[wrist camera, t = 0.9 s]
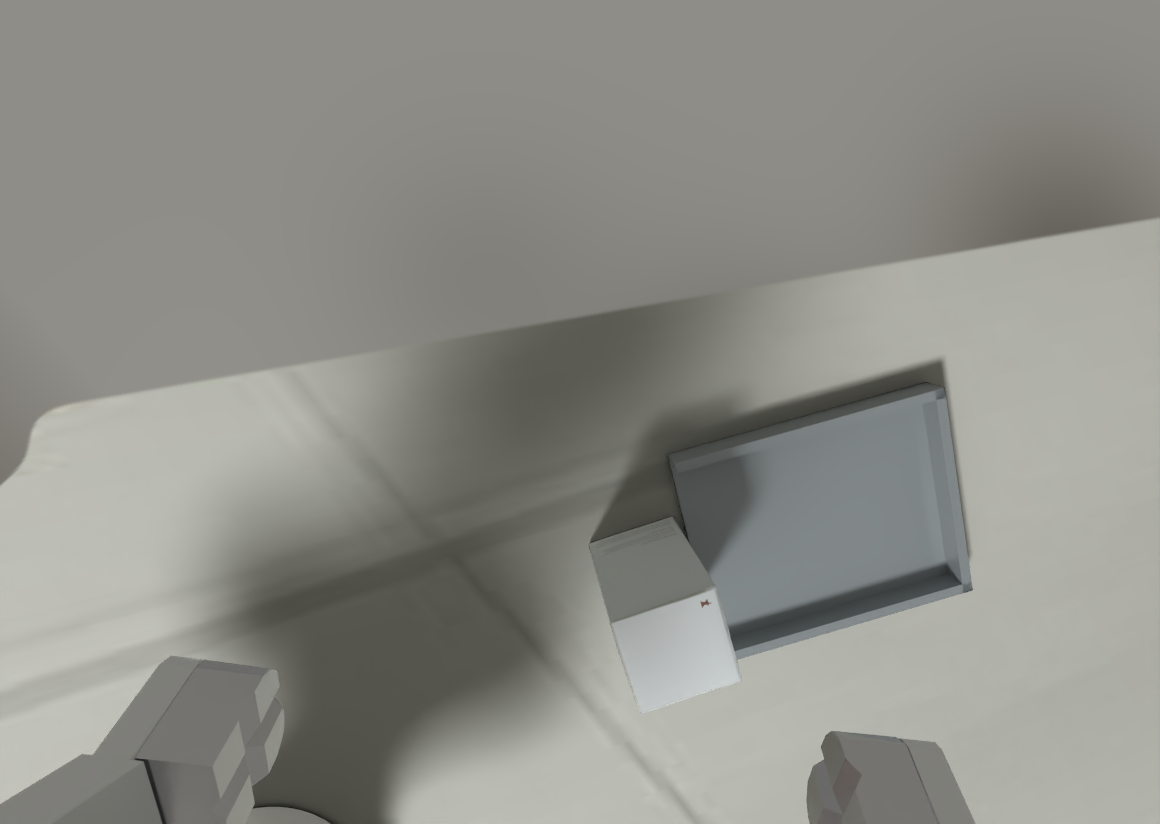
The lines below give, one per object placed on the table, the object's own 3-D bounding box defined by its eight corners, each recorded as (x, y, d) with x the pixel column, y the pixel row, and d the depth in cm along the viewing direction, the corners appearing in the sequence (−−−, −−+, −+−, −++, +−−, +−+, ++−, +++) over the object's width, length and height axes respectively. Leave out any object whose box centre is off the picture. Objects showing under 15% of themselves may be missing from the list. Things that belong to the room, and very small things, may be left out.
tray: (954, 576, 61) (972, 590, 58) (713, 647, 60) (722, 664, 57) (925, 382, 57) (944, 387, 54) (667, 454, 56) (674, 463, 53)
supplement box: (586, 541, 57) (608, 620, 44) (673, 514, 57) (720, 584, 45) (610, 621, 58) (638, 718, 46) (696, 594, 59) (746, 683, 46)
